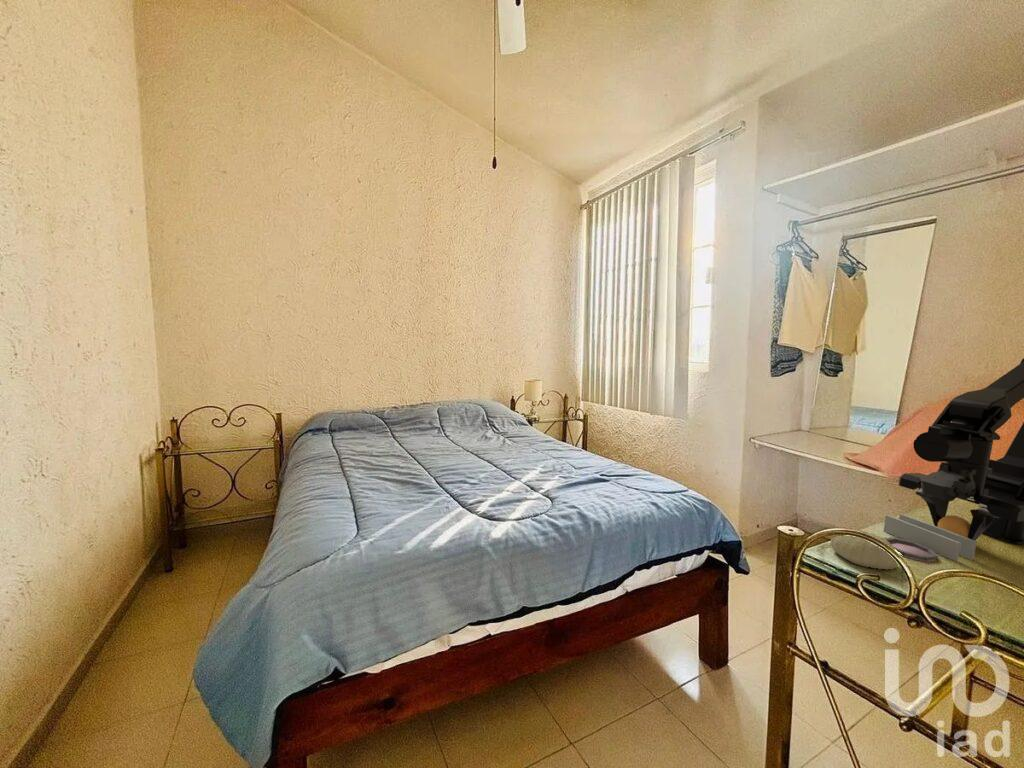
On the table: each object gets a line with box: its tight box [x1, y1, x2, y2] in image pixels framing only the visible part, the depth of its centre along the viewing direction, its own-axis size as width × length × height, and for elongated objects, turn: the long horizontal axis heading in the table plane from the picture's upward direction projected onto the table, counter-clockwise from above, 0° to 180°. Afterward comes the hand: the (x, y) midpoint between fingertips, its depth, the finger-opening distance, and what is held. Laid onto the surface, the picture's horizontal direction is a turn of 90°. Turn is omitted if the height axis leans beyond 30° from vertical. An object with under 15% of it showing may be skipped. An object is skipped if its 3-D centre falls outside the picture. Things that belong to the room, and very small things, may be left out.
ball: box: [938, 515, 971, 538], centre depth 85 cm, size 5×5×5 cm
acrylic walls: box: [883, 513, 978, 562], centre depth 82 cm, size 5×12×4 cm, turn 14°
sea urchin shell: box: [830, 528, 898, 570], centre depth 75 cm, size 9×8×8 cm
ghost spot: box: [883, 536, 938, 563], centre depth 79 cm, size 8×8×1 cm
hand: (954, 535), depth 85 cm, fingers closed on ball, 5 cm apart
